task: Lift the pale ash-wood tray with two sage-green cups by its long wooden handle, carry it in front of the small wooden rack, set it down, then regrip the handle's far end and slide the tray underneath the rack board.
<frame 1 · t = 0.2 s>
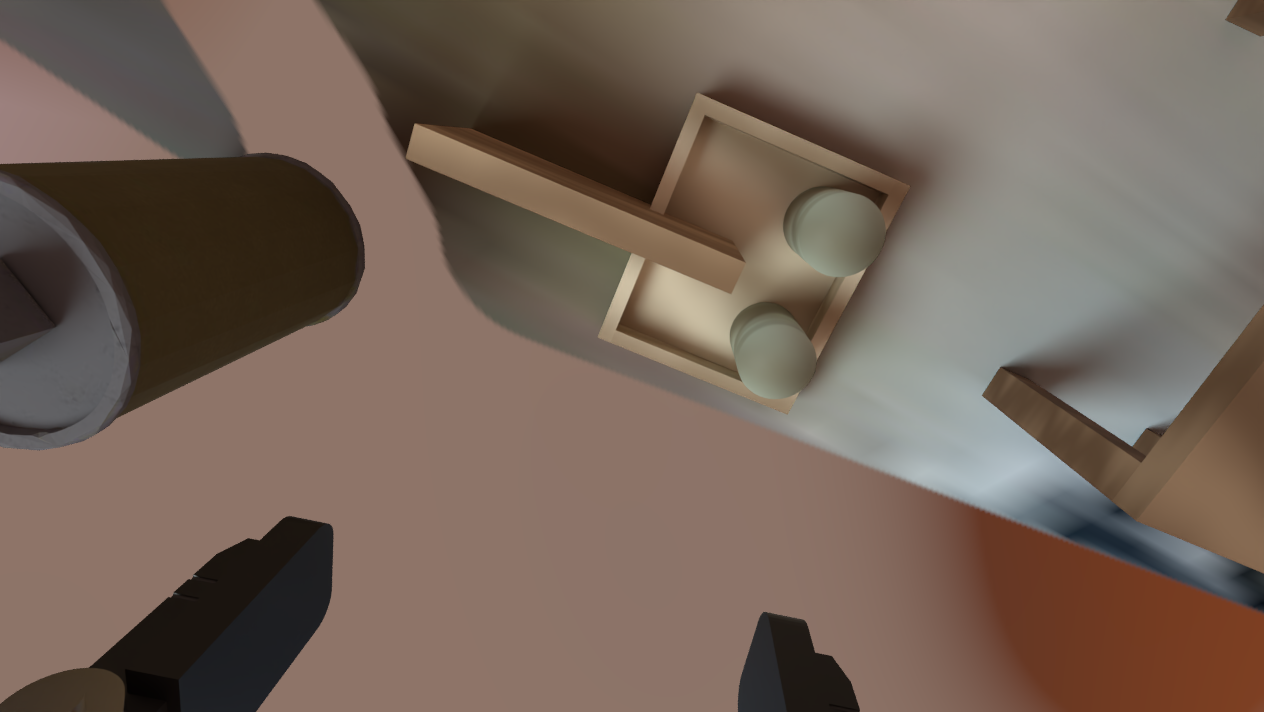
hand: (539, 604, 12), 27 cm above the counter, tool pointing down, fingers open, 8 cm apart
canister: (281, 244, 38), on the counter
wooden rack: (1197, 251, 35), on the counter
tray: (741, 258, 37), on the counter
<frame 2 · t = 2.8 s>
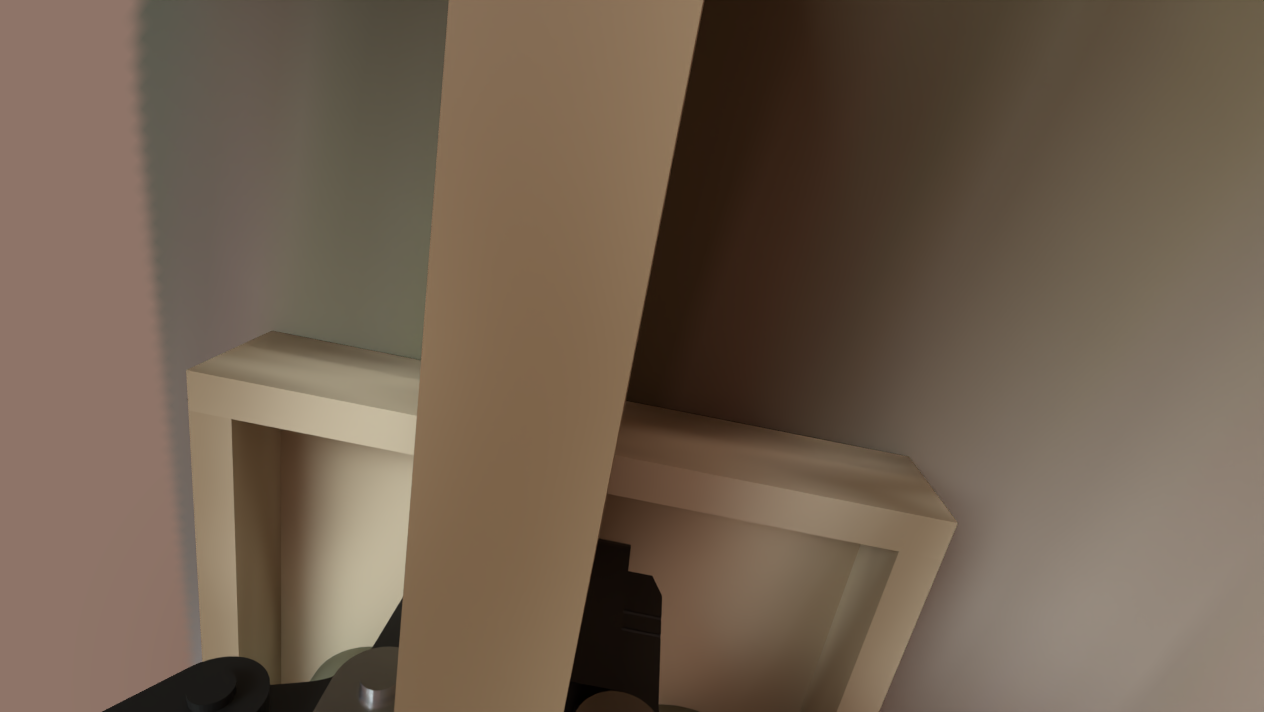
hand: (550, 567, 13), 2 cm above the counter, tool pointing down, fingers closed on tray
tray: (550, 614, 15), on the counter, touching gripper
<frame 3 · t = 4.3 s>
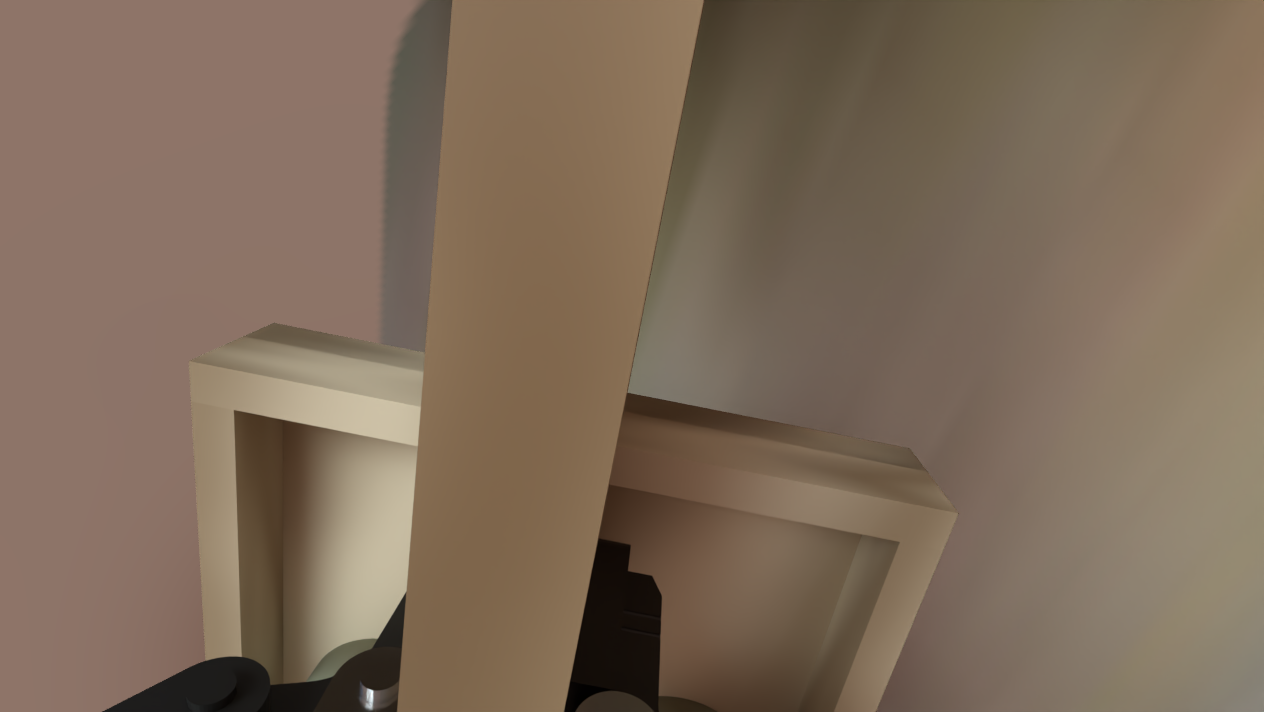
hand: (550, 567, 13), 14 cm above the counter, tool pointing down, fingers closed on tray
tray: (552, 606, 16), point 12 cm above the counter, touching gripper
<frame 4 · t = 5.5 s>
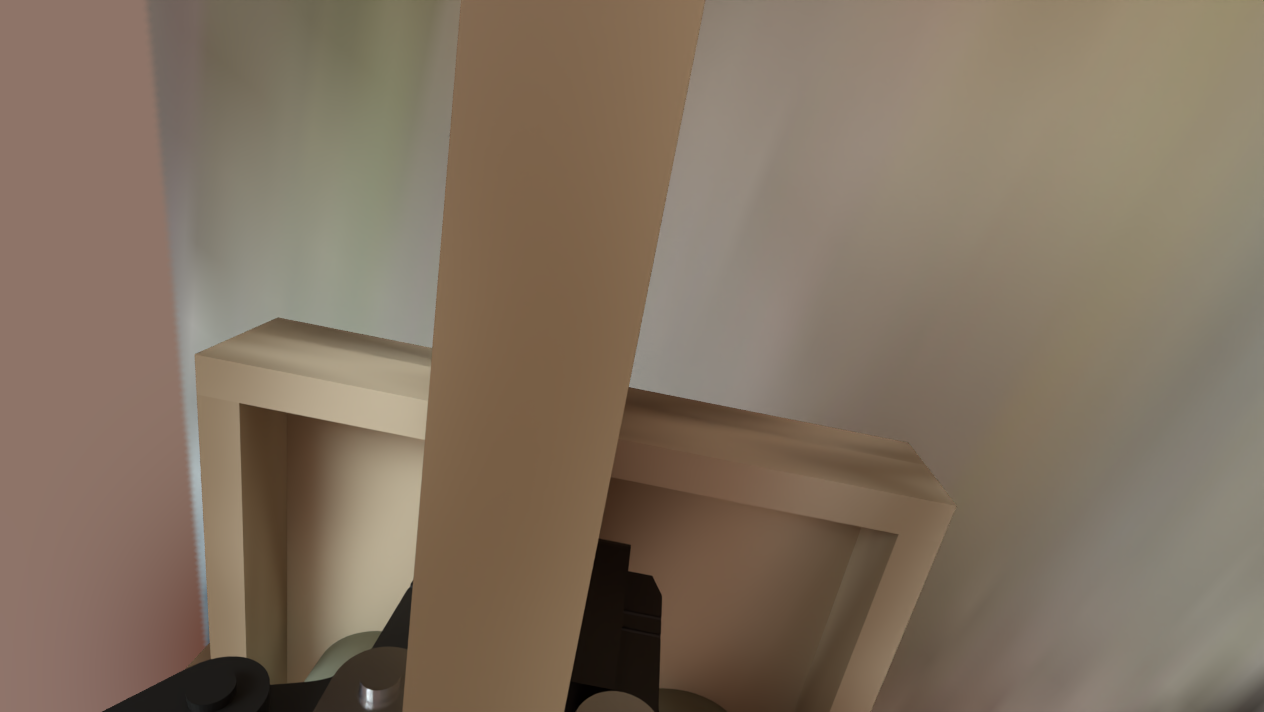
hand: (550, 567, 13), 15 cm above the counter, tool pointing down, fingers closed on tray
tray: (553, 599, 16), point 13 cm above the counter, touching gripper
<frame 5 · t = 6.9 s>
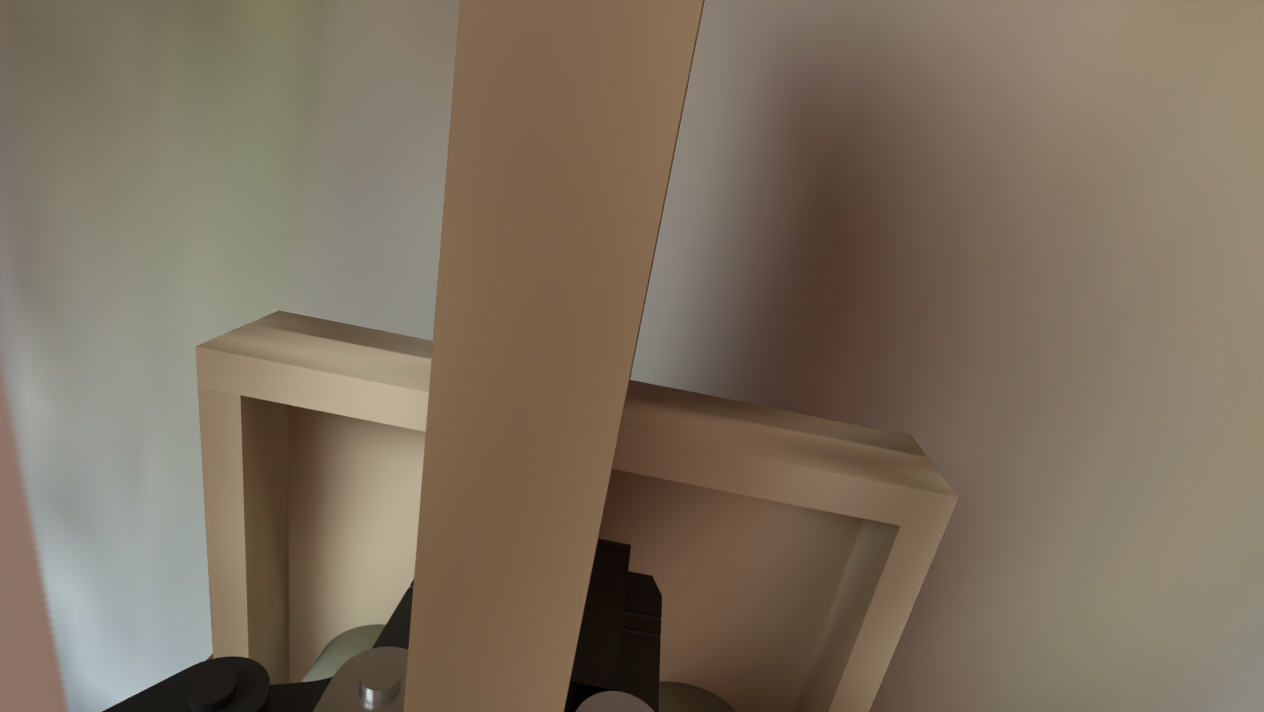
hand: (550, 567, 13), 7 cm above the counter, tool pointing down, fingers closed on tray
tray: (555, 593, 16), point 5 cm above the counter, touching gripper
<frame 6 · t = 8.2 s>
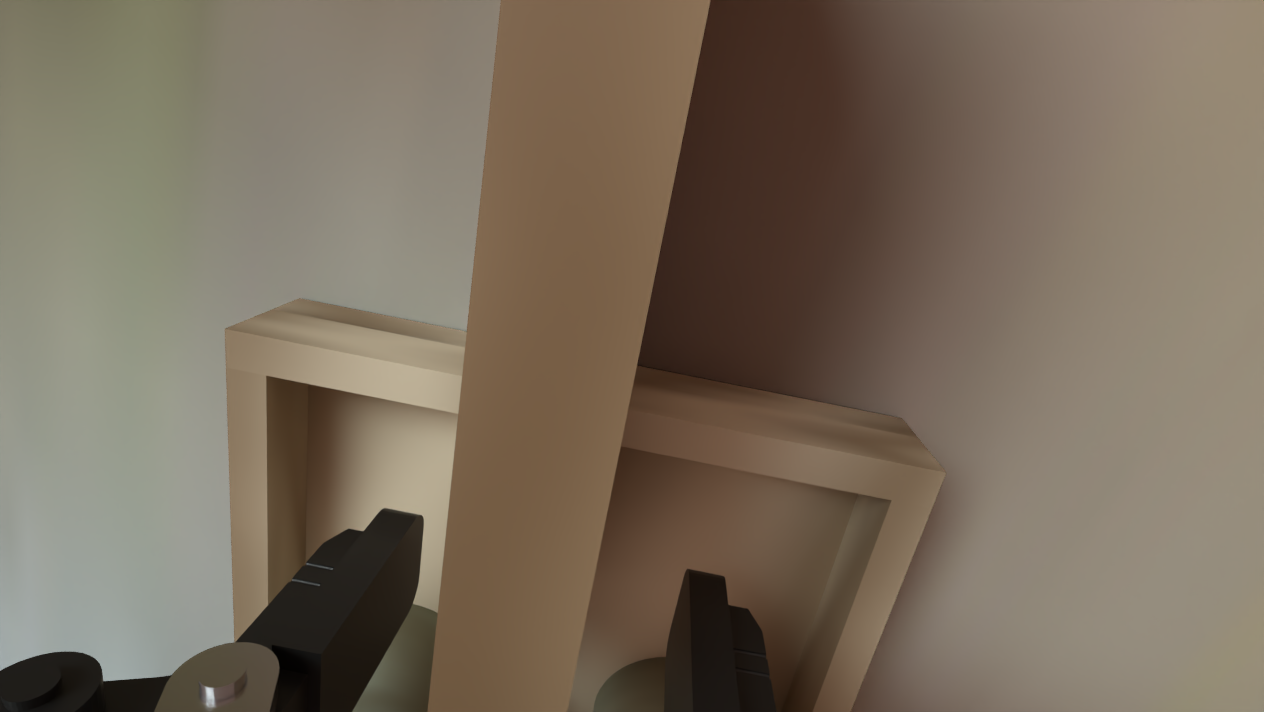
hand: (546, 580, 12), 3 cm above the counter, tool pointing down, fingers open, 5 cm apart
tray: (561, 572, 16), on the counter
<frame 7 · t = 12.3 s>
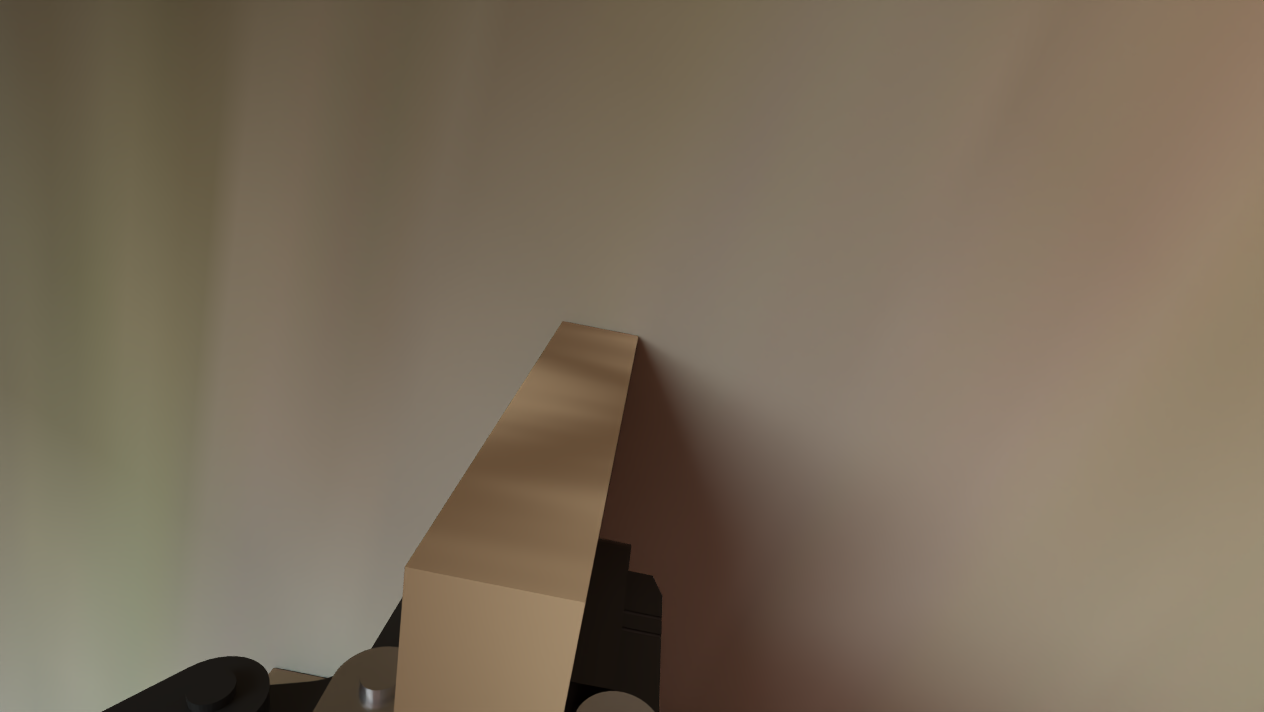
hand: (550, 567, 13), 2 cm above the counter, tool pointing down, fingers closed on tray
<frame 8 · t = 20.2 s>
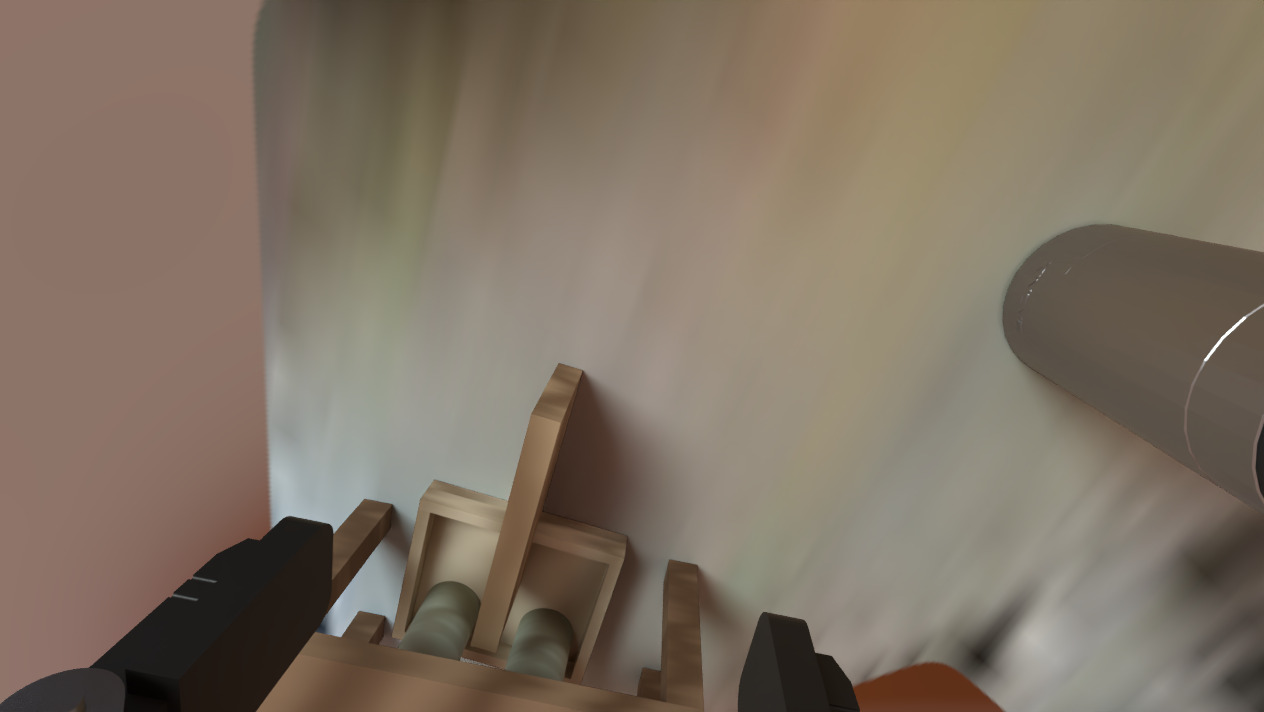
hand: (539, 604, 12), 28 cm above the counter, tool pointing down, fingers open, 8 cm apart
wooden rack: (520, 599, 46), on the counter
tray: (512, 575, 46), on the counter
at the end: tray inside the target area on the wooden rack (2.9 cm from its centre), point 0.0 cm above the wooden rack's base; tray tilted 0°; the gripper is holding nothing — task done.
